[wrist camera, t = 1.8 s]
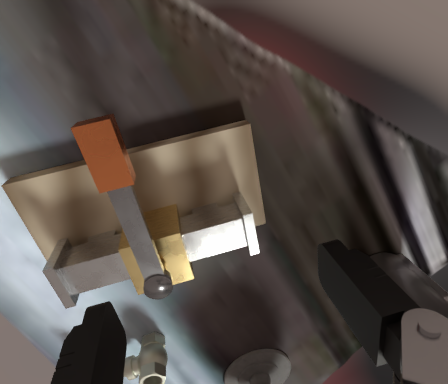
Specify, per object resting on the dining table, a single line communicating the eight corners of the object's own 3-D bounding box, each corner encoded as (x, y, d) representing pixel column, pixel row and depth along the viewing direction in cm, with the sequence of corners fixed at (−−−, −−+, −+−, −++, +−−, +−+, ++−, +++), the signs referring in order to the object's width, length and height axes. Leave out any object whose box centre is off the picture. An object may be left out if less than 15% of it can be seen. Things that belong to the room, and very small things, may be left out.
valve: (158, 321, 45) (79, 349, 44) (158, 362, 39) (67, 395, 38) (173, 348, 48) (100, 374, 47) (175, 390, 42) (91, 421, 42)
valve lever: (175, 283, 30) (176, 296, 28) (148, 290, 29) (148, 304, 28) (113, 113, 22) (109, 119, 20) (77, 122, 22) (70, 128, 20)
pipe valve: (238, 187, 35) (258, 222, 28) (246, 228, 38) (267, 270, 31) (57, 235, 34) (31, 285, 27) (79, 275, 36) (60, 330, 29)
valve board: (245, 119, 34) (250, 123, 32) (261, 215, 40) (265, 223, 38) (10, 178, 32) (1, 185, 30) (63, 270, 38) (58, 281, 36)
